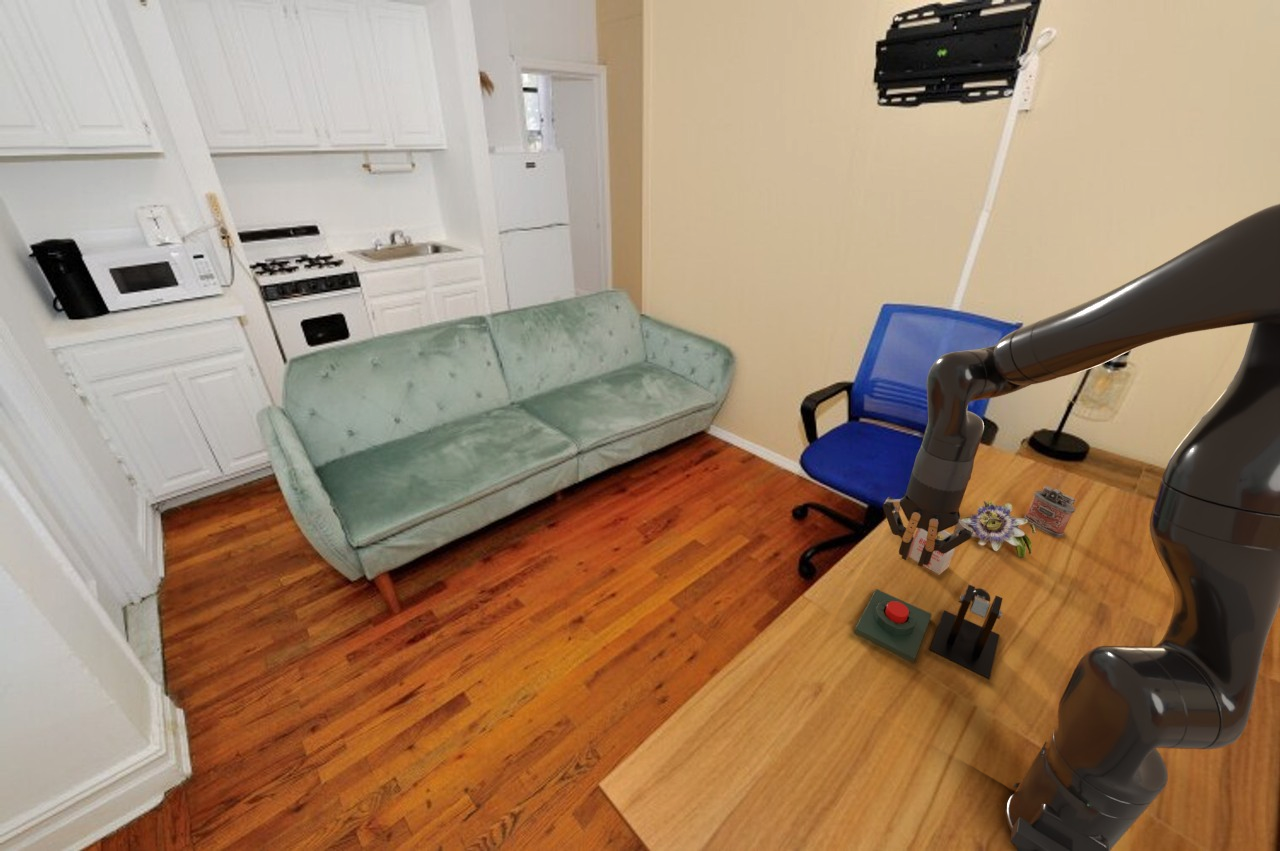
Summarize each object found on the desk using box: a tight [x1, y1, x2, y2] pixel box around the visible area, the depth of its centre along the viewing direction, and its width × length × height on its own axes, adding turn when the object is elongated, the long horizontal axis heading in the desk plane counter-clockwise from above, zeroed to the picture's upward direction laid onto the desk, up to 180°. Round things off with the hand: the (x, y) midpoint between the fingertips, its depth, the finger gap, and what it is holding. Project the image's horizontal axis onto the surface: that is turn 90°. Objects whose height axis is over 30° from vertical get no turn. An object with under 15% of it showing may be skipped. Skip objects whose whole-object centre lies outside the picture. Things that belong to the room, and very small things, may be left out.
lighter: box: [1023, 485, 1076, 538], centre depth 115 cm, size 8×3×10 cm, turn 25°
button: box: [885, 601, 909, 623], centre depth 91 cm, size 4×4×2 cm
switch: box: [969, 587, 991, 619], centre depth 89 cm, size 13×3×3 cm, turn 141°
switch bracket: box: [929, 584, 1003, 680], centre depth 87 cm, size 11×9×12 cm
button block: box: [853, 588, 932, 664], centre depth 92 cm, size 12×10×4 cm
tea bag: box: [907, 528, 956, 576], centre depth 105 cm, size 4×7×10 cm, turn 35°
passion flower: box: [960, 500, 1037, 559], centre depth 112 cm, size 11×11×12 cm
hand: (913, 559), depth 85 cm, fingers closed
